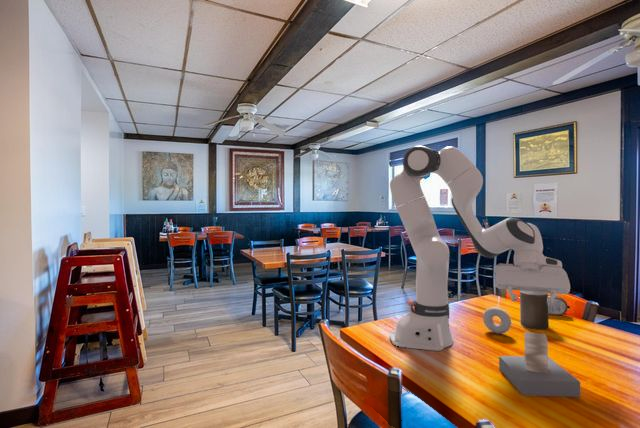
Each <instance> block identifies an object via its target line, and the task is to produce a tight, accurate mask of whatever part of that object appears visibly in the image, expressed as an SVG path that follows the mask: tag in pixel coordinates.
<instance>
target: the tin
mask: <svg viewBox="0 0 640 428" xmlns="http://www.w3.org/2000/svg"><path fill="white" fill-rule="evenodd" d="M548 297H551V294H548ZM567 311H568V303H567V301H566V300H565V298H564V297H561V296H558V295H556V297H555V299H554V300H553V305H548V316H549V315H550V316H551V315H552V316H563V315H565V314H566V313H567Z"/></svg>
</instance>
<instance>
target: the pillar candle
mask: <svg viewBox="0 0 640 428" xmlns="http://www.w3.org/2000/svg"><path fill="white" fill-rule="evenodd" d="M548 295H549V293H542V292H530V291H519V300H520V301H519V311H520V312H519V313H520V314H519V315H520V319H519V320H520V325H521V326H522V327H525V328H529V329H534V330H542V331H543V330H547V329H549V328H550V327H549V314H548V305H547V297H548Z"/></svg>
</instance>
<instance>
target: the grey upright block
mask: <svg viewBox="0 0 640 428" xmlns="http://www.w3.org/2000/svg"><path fill="white" fill-rule="evenodd" d="M523 335H524V356H525V366H526V370H529V371H535V372H541V373H546V374H548V357H549V340H548V338H547V335H546V333H539V332H532V331H524V334H523Z"/></svg>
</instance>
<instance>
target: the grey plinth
mask: <svg viewBox="0 0 640 428" xmlns="http://www.w3.org/2000/svg"><path fill="white" fill-rule="evenodd" d="M498 364H499V365H498V369H499V370H500V372H501V373H502V374H503V375H504V377H506V379H508V381H509V382H510V383H511V384H512V385H513V386H514V388H516V390H517V391H518V392H519V393H520V394H521V396H532V397H534V396H535V397H536V396H537V397H538V396H539V397H561V398H563V397H567V398H581V381H580V380H579V379H577V378H576V377H575V376H574V375H572V374H570V372H569V371H567V370H566V369H565V368H564V367H562V366H561V365H559V364H558V363H557V362H556V361H555V360H554V359H552V358H551V357H549V356H548V374H546V373H541V372H535V371H529V370H526V366H525V355H524V356H523V355H522V356H521V355H520V356H517V355H498Z"/></svg>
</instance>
